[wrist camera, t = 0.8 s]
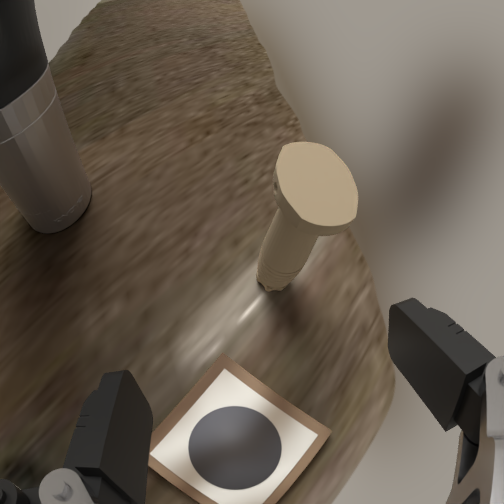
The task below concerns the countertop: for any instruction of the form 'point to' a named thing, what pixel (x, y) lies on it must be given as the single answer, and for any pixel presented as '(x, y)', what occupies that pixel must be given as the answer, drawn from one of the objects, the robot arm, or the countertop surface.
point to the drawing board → (234, 440)
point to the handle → (304, 209)
